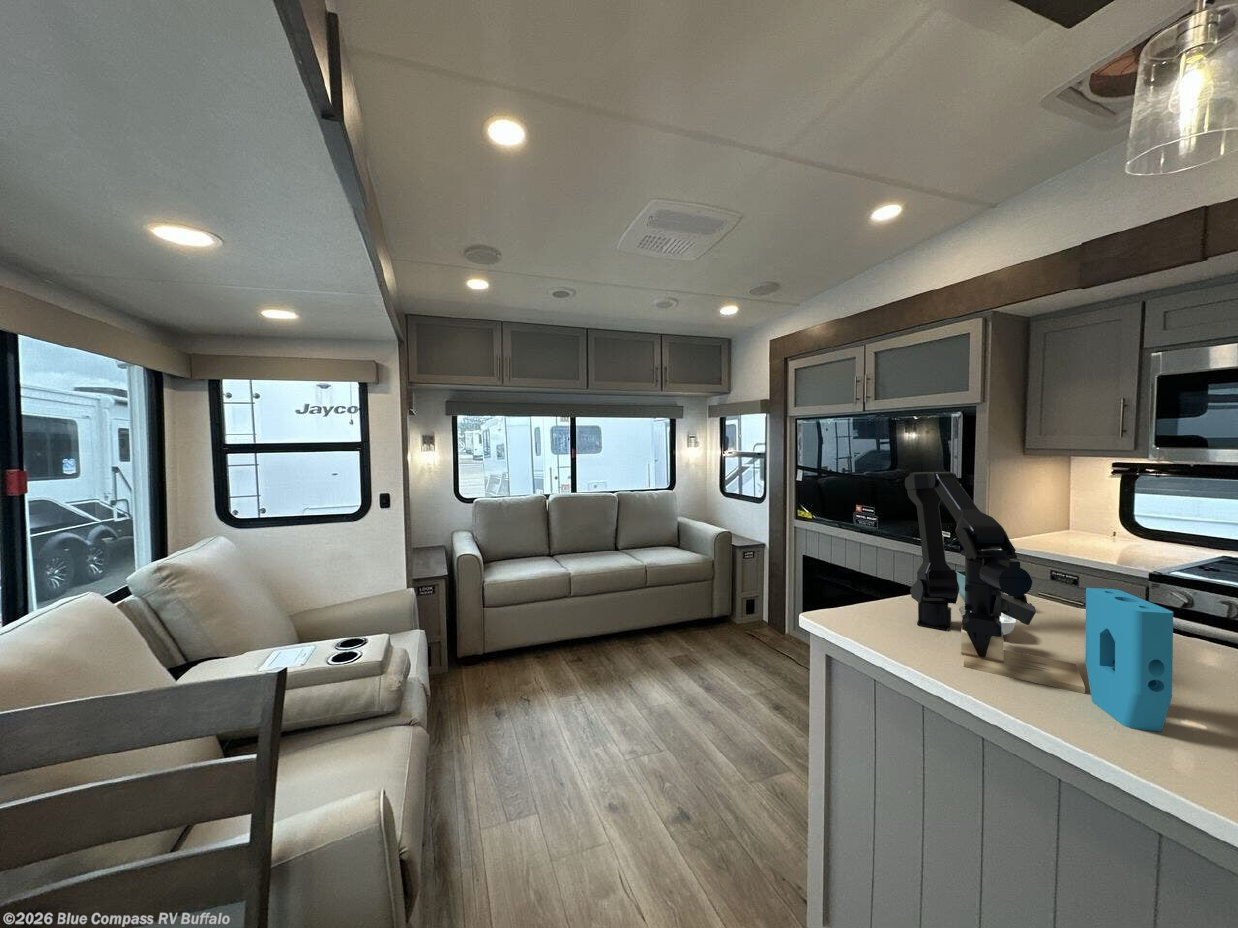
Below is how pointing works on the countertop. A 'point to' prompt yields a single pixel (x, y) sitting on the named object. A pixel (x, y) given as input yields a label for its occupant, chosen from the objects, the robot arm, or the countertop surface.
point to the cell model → (1006, 621)
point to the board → (1032, 670)
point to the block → (1129, 657)
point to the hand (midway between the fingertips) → (982, 652)
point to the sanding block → (993, 651)
